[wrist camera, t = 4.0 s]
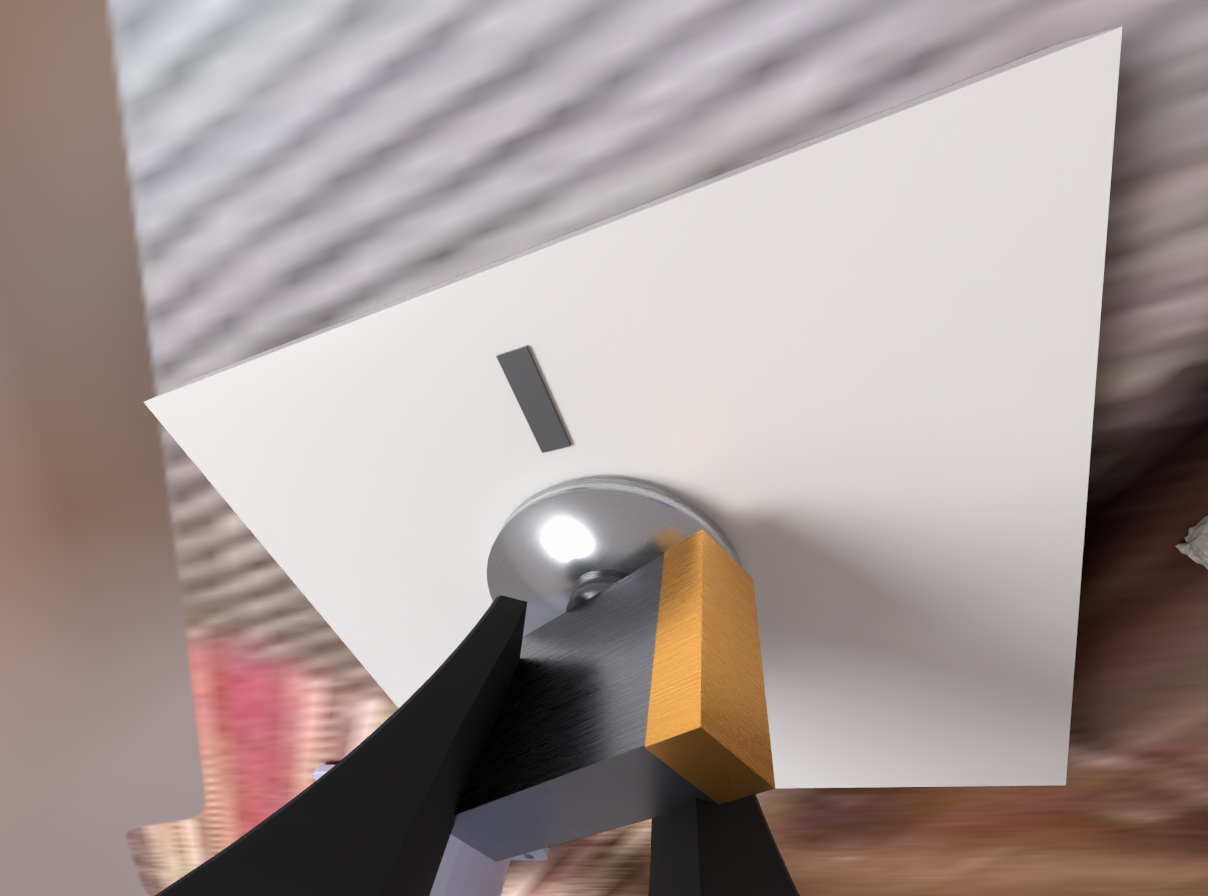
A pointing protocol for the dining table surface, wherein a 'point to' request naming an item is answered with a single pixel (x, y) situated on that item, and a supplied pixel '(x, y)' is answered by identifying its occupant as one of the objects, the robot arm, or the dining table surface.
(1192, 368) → the dining table surface
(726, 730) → the rotary knob
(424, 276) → the dining table surface
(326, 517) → the base plate
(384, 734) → the robot arm
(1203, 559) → the washcloth
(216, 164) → the dining table surface
